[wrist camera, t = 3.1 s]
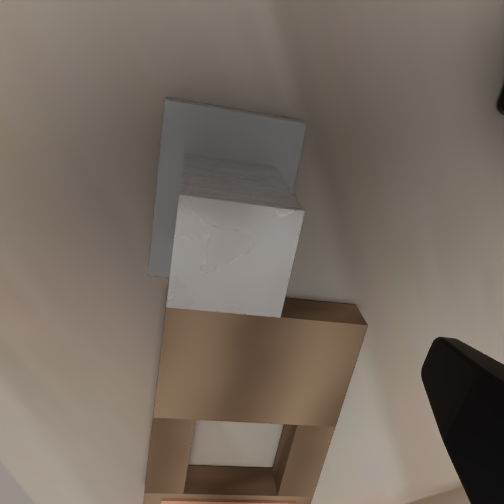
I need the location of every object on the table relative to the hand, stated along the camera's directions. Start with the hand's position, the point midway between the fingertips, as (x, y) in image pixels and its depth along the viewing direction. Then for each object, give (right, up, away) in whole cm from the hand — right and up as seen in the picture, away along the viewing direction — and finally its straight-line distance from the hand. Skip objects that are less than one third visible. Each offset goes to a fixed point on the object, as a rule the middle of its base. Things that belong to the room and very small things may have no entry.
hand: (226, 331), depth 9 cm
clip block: (-1, +4, +11) cm, 12 cm away
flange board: (0, -7, +17) cm, 19 cm away
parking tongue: (-1, +4, +12) cm, 13 cm away
